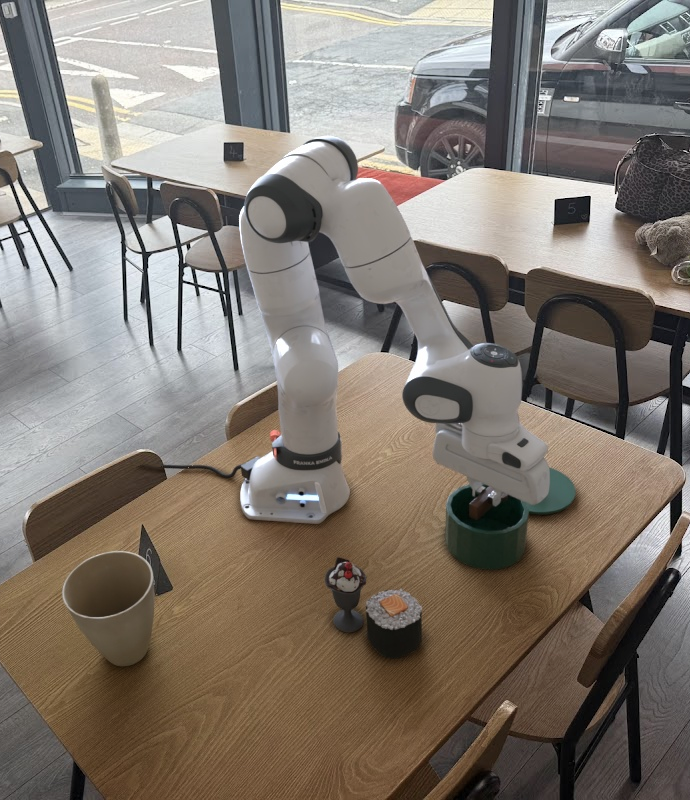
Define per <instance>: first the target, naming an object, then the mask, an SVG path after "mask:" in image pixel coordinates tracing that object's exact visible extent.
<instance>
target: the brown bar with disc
mask: <svg viewBox="0 0 690 800" xmlns="http://www.w3.org/2000/svg"><path fill="white" fill-rule="evenodd" d="M493 491H494V488H492V487H490V486H489V487H488V488H487V489H486V490H485V491H483V492H482V493H481V494H480V495H479V496H478V497H477V498H475V499H474V500H473V501H472V502H471V503H470V506H469V517H471V518H473V519H475V520H478V519H479V518H480V517H481V516H482V515H483V514H485V513H486V512H487V511H488V510H489V509H490V508H491V507H492V506H493V505H491V504H489V503H488V496H489V495H490V494H491V493H492V492H493ZM507 499H508V494H506V493H503V494H502V495H501V501H500V502H504V501H506V500H507Z"/></svg>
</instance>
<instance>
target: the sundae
mask: <svg viewBox="0 0 690 800" xmlns="http://www.w3.org/2000/svg"><path fill="white" fill-rule="evenodd" d="M324 583H325V586H326V587H327V588H328V589H329V590H331V593H332V598H333V600H334V603H335V605H336V607H337V608H339V609H340V610H339V611H338V612H336V613H335V615H334V616H333V624H334V626H335V627H336V629H338V630H339V631H341V632H344V633H353V632H357V631H358V630H360V629H361V628H362V627H363V624H364V618H363V616H362V614H361V613H360V612H358V611H356V610H354V609H356V608H357V607H358V605H359V604H360V601H361V600H360V599H361V593H362V589H363V588H364V587H365V586H366V585H367V575H366V573H365V572H364V571H363V569H362V568H360V567H359V566H358V565H355V564H353V563H352V562H351V560H350V559H348V558H344V557H339V556H337V557H336V559H335V564H334V566H332V567H331V568H328V569H327V571H326V573H325V576H324Z"/></svg>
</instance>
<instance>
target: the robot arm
mask: <svg viewBox="0 0 690 800" xmlns="http://www.w3.org/2000/svg"><path fill="white" fill-rule="evenodd" d="M358 173H359V163H358V160H357V156H356V153H355V152H354V151H353V148H351V146H350V145H349V144H348V143H347V142H345V141H344V140H343V139H341V138H340V137H337V136H334V135H323V136H318V137H315V138H312V139H309V140H307V141H306V142H305V143H303V144H302V145H301V146H300V147H297V148H295V149H294V150H293V151H290V152H289V153H288V154H286V155H284V156H283V157H282V158H280V159H279V160H278V161H277V163H276V164H275V165H273V166H272V167H271V168H270V169H269V170H268V171H266V173H265V174H263V175H261V176H260V177H259V178H257V180H255V182H254V183H253V184H252V186H251V187H250V188H249V190H248V192H247V194H246V196H245V199H244V202H243V207H242V208H241V210H240V213H239V217H238V218H239V219H238V220H239V221H238V222H239V233H240V242H241V247H242V252H243V257H244V261H245V266H246V269H247V272H248V276H249V280H250V283H251V286H252V287H251V288H252V290H253V294H254V297H255V300H256V305H257V308H258V310H259V314H260V316H261V317H260V318H261V319H262V323H263V327H264V329H265V332H266V337H267V340H268V343H269V347H270V352H271V356H272V361H273V365H274V366H273V367H274V370H275V371H274V372H275V377H276V386H277V387H276V388H277V398H278V401H277V402H278V404H277V409H278V417H279V427H280V431H279V430H277V429H272V430H271V431H270V433H269V436H270V438H269V440H270V442H272V444H271V448H272V450H271V451H270V452H268V453H266V454H265V455H263V456H262V457H260V456H256V457H254V458H252V459H250V460H249V461H247V462H245V463H242V464H238V465H236V466H235V467H233V470H232V472H231V473H224V472H221V470H219V469H217V468H215V467H213V466H211V465H203V464H163V463H162V464H163V467H164V468H163V469H172V470H173V469H175V470H207V471H211V472H213V473H215V474H216V475H218V476H219V477H221V478H224V479H231V478H234V477H235V475H237V472H238V471H239V470H240V471H241V476H242V477H243V479H244V480H243V482H242V484H241V487H240V492H239V493H240V495H239V503H240V508H241V511H242V513H243V515H244V516H245V518H247V519H249V520H255V521H268V522H269V521H270V522H282V523H283V522H286V523H295V524H296V523H297V524H298V523H299V524H312V525H317V524H318V525H319V524H321V523H323V522H324V521H325V520H326V519H327V518H328V516H330V515H331V514H332V513H335V512H336V511H338V510H340V509H341V508H342V507H344V506H345V504H346V503H347V502H348V500H349V498H350V494H351V489H350V486H349V484H348V481H347V480H346V479H347V478H346V476H345V473H344V470H343V465H342V460H343V444H342V439H341V435H340V432H339V425H338V412H337V410H338V409H337V397H338V389H339V361H338V358H337V355H336V353H335V352H336V351H335V349H334V347H333V343H332V341H331V338H330V335H329V332H328V328H327V326H326V325H327V324H326V321H325V316H324V312H323V305H322V300H321V295H320V290H319V283H318V280H317V275H316V272H315V268H314V264H313V259H312V254H311V250H310V246H309V242H313V241H314V240H315V239H316V238H317V236H318V235H319V233H320V234H323V235H325V236H326V238H327V237H328V238H329V240H330V241H331V243H332V244H333V246H334V248H335V250H336V252H337V255H338V257H339V260H340V262H341V264H342V267H343V269H344V271H345V273H346V276H347V278H348V280H349V282H350V284H351V286H352V287H353V288H354V289H355V291H356V292H357V294H358V295H359V297H361V298H362V299H363V300H365V301H367V302H370V303H373V304H380V305H386V304H392V303H396V305H398V306H399V307H400V309H401V311H402V313H403V314H404V317H405V319H406V320H407V322H408V324H409V326H410V328H411V330H412V332H413V334H414V335H415V337H416V340H417V354H416V359H415V361H414V363H413V366H412V368H411V370H410V372H409V374H408V377H407V379H406V381H405V385H404V387H403V389H402V394H401V395H402V398H401V399H402V401H403V405H404V406H405V408H406V410H407V411H408V412H409V413H410V414H411V415H412V416H413V417H414V418H416V419H418V420H419V421H423V422H425V423H430V424H435V428H434V429H435V430H434V431H435V434H436V435H435V438H434V441H433V448H432V458H433V460H434V462H435V463H436V464H437V465H440V466H442V467H445V468H447V469H449V470H452V471H454V472H456V473H459V474H461V475H462V476H465V477H466V481H467V482H468V484H470V486H471V488H472V489H473V496H474V497H476V498H477V497H478V496H479V495H480V494H481V493H482V492H483V491H485V490H486V487H484V486H482V485H481V483H483V484H485V485H488V486H490V487H492V488H494V491H493V492H492V493H491V494H490V495H489V496H488V503H489V504H491V505H493V506H497V505H498V504H499V503H500V501H501V495H502V494H503V493H506V494H508V495H510V496H512V497H515V498H517V499H519V500H521V501H524V502H526V503H528V504H530V505H536V504H538V503H540V502H541V501H542V500H543V499H544V498H545V497H546V496H547V495H548V492H549V485H550V471H549V467H550V465H549V462H548V461H547V459H546V458H545V456H546V455H547V453H548V452H549V446H548V444H547V443H546V441H544V440H543V439H541V438H539V437H538V436H537V435H535V434H534V433H532V432H531V431H530V430H528V429H527V428H526V427H525V426H524V425H523V424H522V423H520V422H521V420H520V416H519V408H520V406H521V404H522V398H523V397H522V396H523V395H522V394H523V373H522V367H521V363H520V360H519V358H518V357H517V355H516V354H515V353H514V351H512V350H511V349H509V348H507V347H506V346H503V345H501V344H498V343H491V342H482V343H478V344H475V345H473V343H471V341H470V340H469V339H468V338H467V337H466V336H465V335H464V334H463V333H462V332H461V331H460V330H459V329H458V328H457V327H456V326H455V324H454V323H453V320H452V319H451V317H450V316H449V313H448V311H447V309H446V308H445V305H444V303H443V301H442V299H441V297H440V295H439V293H438V291H437V289H436V287H435V285H434V283H433V281H432V279H431V278H430V275H429V274H428V272H427V270H426V268H425V266H424V264H423V262H422V259H421V257H420V254H419V252H418V249H417V246H416V244H415V242H414V238H413V237H412V234H411V232H410V229H409V228H408V226H407V225H408V224H407V223H406V220H405V219H404V217H403V215H402V212H401V211H400V209H399V207H398V205H397V204H396V202H395V200H394V199H393V197H392V196H391V194H390V193H389V191H388V190H387V188H386V187H385V185H384V184H383V183H381V181H379V180H377V179H374V178H369V177H368V178H367V177H365V178H364V177H363V178H357V177H358ZM192 465H193V466H192ZM161 467H162V466H161ZM188 467H189V468H188Z"/></svg>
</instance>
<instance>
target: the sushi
mask: <svg viewBox="0 0 690 800" xmlns="http://www.w3.org/2000/svg"><path fill="white" fill-rule="evenodd" d="M365 606H366V607H365V615H366V635H367V636H366V637H367V640H368V641H369V643H370V644H371V646H372V648H373V649H374V650H375V651H376V652H377V653H378V654H379V655H380V656H383V658H387V659H393V660H394V659H400V658H403V657H406V656H408V655H410V654H412V653H414V652H416V651H417V650H418V649H419V648H420V647H421V644H422V632H423V631H422V629H423V628H422V626H423V624H422V623H423V622H422V620H423V619H422V618H423V612H422V611H423V607H422V605H420V603H419V601H418V599H416V597H414V596H411V593H410V592H407V591H404V590H403V588H400V589H396V590H395V589H391V590H389V589H386V590H382V591H378V593H377V594H373V595H372V596H371V597H370V598H369V599H368V600H367V601H365Z"/></svg>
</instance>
